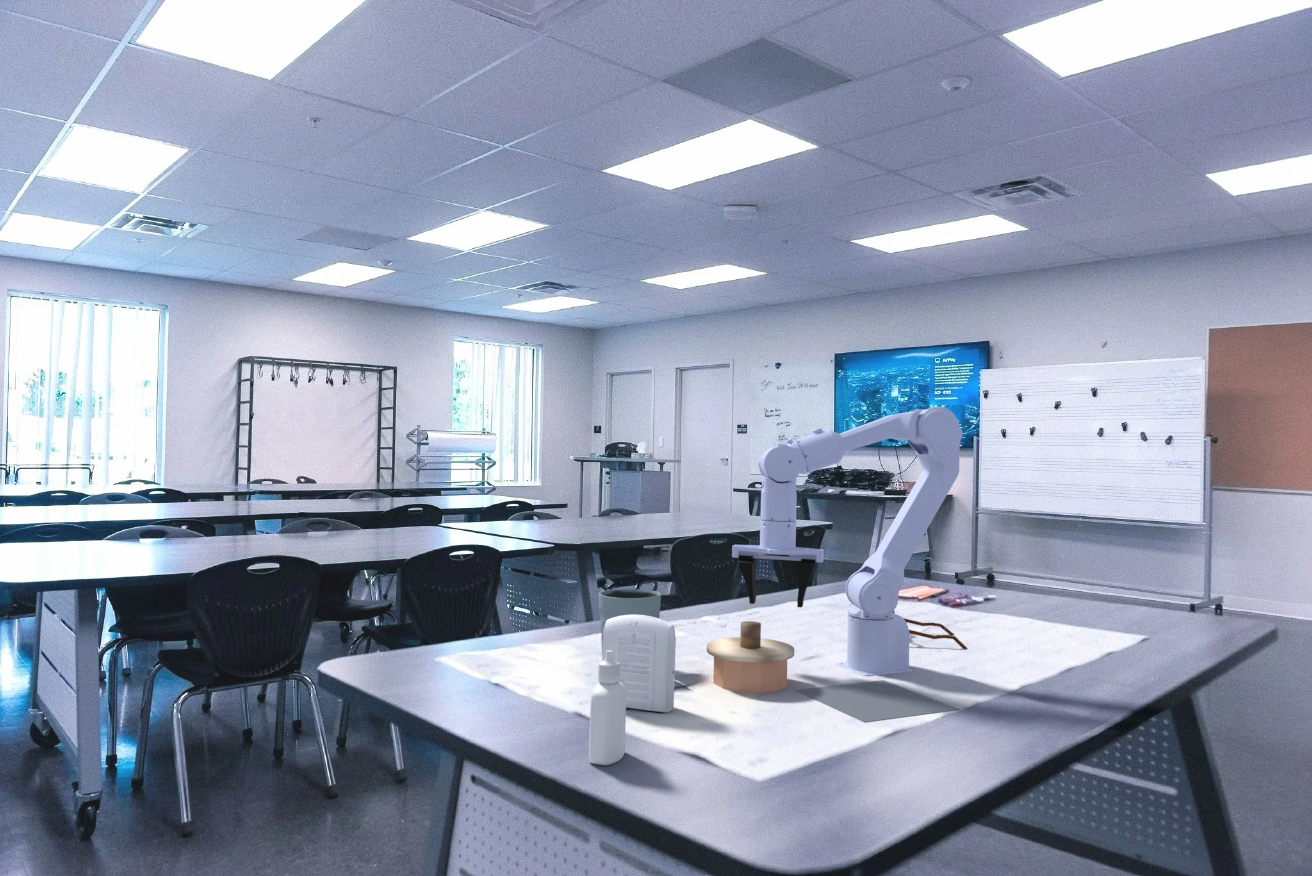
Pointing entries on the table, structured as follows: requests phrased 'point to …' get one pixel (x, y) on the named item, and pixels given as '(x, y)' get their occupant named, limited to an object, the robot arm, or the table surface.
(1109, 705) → the table surface
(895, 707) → the mat
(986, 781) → the table surface
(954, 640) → the glasses
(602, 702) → the eye dropper bottle
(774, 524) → the robot arm
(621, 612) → the green plant pot
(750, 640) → the lid
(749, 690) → the bowl
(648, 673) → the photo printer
